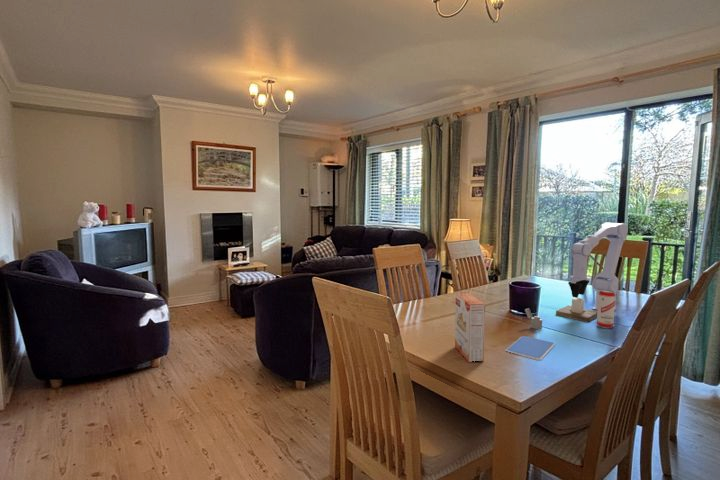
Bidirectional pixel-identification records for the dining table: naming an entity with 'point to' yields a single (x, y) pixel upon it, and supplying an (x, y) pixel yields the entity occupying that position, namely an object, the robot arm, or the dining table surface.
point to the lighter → (534, 320)
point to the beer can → (606, 308)
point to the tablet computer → (531, 347)
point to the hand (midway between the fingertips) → (578, 295)
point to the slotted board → (577, 314)
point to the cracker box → (470, 327)
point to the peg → (577, 305)
